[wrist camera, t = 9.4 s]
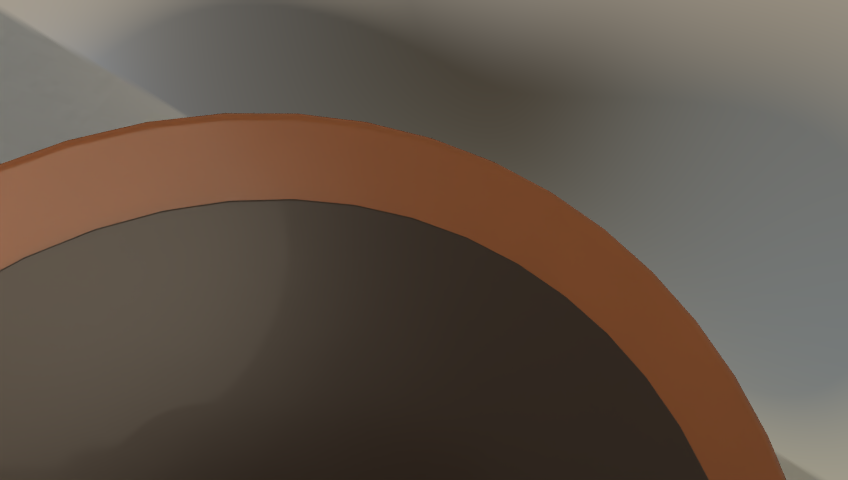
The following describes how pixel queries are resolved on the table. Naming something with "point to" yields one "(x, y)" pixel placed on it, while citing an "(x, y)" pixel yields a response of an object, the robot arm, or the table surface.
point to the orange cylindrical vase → (337, 318)
